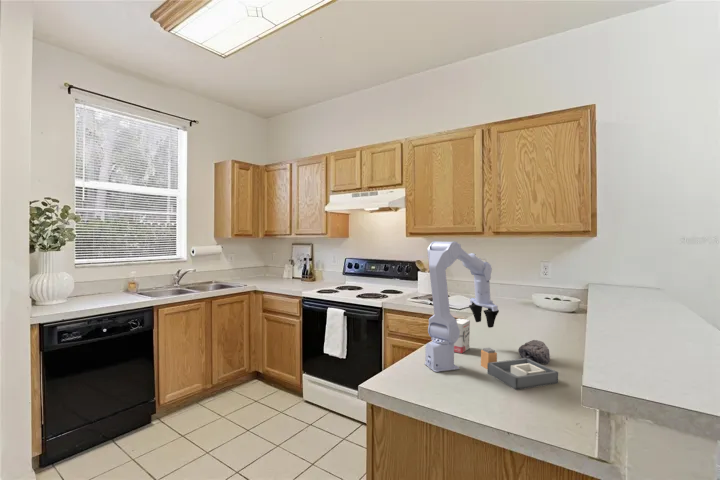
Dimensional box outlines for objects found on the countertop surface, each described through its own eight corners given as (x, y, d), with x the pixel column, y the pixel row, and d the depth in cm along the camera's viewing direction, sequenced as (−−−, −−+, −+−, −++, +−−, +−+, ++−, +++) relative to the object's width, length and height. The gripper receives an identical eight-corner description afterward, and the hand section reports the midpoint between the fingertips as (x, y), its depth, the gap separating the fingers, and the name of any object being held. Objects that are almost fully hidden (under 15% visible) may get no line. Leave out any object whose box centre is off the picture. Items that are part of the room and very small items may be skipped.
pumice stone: (526, 371, 121) (555, 365, 119) (520, 350, 121) (549, 344, 120) (518, 360, 131) (545, 354, 129) (513, 340, 132) (539, 335, 130)
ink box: (462, 354, 132) (462, 323, 132) (450, 351, 135) (450, 321, 135) (470, 348, 139) (470, 319, 139) (458, 346, 142) (458, 317, 142)
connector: (488, 369, 116) (488, 351, 116) (481, 365, 120) (481, 348, 120) (496, 368, 117) (496, 350, 117) (489, 364, 121) (489, 347, 121)
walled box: (515, 389, 101) (515, 378, 101) (487, 373, 113) (487, 362, 113) (558, 383, 106) (558, 372, 105) (526, 368, 118) (526, 358, 118)
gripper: (503, 293, 130) (505, 327, 131) (479, 286, 143) (481, 317, 144) (488, 296, 128) (490, 331, 129) (464, 289, 141) (467, 320, 142)
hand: (484, 324), depth 136 cm, fingers open, 7 cm apart
